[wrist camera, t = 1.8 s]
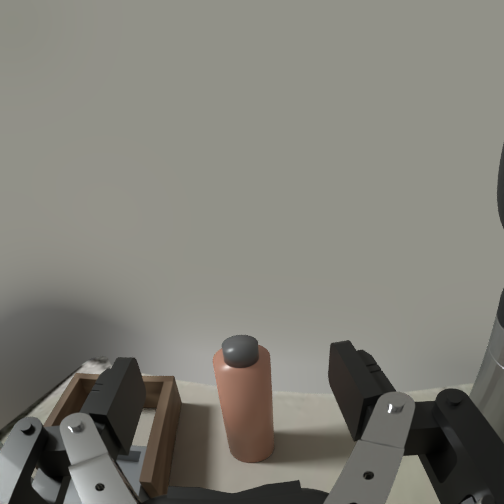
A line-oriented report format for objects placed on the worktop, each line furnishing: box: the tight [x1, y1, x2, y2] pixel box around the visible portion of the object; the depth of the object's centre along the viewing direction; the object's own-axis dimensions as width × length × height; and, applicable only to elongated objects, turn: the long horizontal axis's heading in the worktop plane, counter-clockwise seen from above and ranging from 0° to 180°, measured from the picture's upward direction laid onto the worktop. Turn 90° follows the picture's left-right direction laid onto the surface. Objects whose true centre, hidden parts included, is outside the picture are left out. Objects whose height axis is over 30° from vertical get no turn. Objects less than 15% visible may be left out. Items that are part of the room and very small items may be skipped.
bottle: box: [213, 335, 274, 463], centre depth 28 cm, size 5×5×15 cm
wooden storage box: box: [35, 373, 182, 498], centre depth 29 cm, size 15×17×5 cm
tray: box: [63, 445, 150, 504], centre depth 19 cm, size 16×15×6 cm
